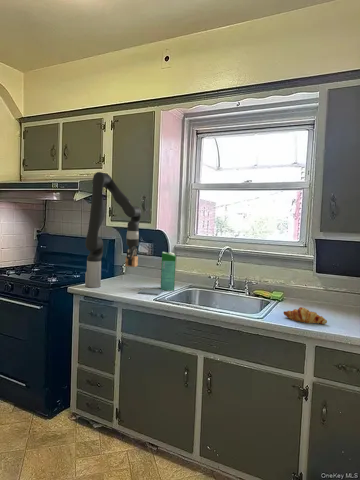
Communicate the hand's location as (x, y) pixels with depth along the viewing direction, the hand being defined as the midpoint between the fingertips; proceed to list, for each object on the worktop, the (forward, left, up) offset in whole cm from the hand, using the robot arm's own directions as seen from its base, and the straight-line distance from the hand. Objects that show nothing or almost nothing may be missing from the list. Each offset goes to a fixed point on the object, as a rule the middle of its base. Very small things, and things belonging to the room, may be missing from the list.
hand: (131, 264), depth 225 cm
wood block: (0, 0, -1) cm, 1 cm away
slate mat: (+12, +4, -17) cm, 22 cm away
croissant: (+102, -28, -18) cm, 107 cm away
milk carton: (+20, +18, -18) cm, 32 cm away
